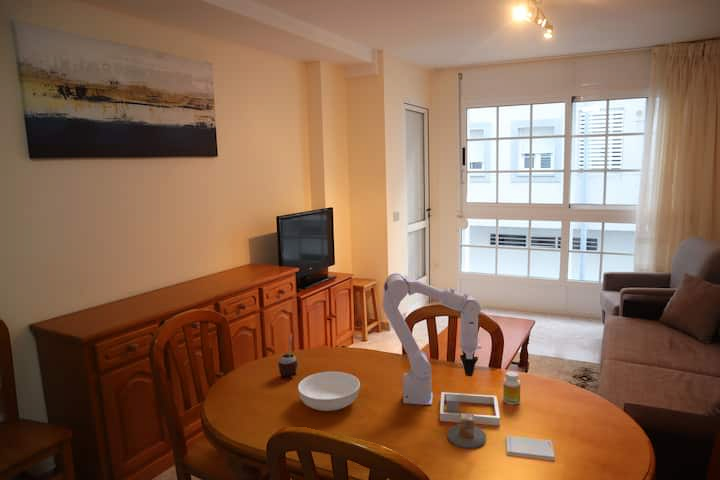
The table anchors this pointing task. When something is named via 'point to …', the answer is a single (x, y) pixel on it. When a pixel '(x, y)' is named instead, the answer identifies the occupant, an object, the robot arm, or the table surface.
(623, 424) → the table surface
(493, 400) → the white rectangular frame
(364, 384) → the table surface
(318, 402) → the serving bowl
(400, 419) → the table surface
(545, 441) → the hard drive
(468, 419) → the labelled walnut box
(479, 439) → the slate pad
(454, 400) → the plain grey box
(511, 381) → the supplement bottle
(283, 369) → the mate gourd
